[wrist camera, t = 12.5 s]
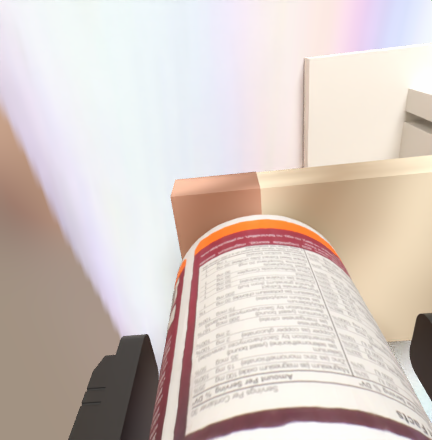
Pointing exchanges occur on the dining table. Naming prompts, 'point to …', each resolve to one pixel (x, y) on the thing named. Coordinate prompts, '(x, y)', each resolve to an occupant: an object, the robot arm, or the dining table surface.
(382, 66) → the pivot stand
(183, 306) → the pill bottle
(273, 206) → the board
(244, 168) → the dining table surface
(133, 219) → the dining table surface
